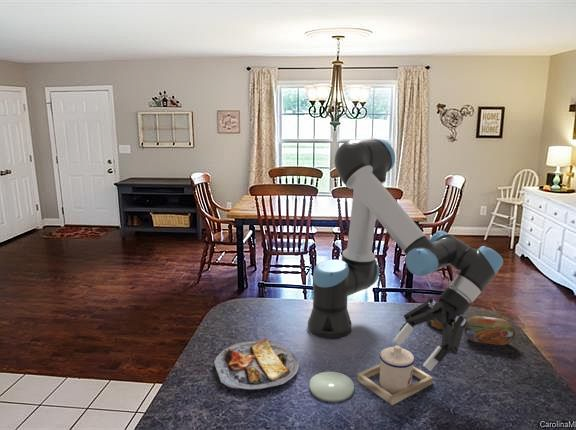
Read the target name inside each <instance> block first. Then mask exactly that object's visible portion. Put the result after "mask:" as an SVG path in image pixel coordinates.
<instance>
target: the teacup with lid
mask: <svg viewBox="0 0 576 430" xmlns="http://www.w3.org/2000/svg"><path fill="white" fill-rule="evenodd" d="M379 358H380V363H379V364H380V373H379V378H378V379H379V383H378V384H379V386H380V387H381V388H383V389H384V390H386V391H387V392H389V393H390V394H392V395H394V394H396V393H398V392H399V391H401V390H403V389H405V388H407V387H409V386H411V385H413V376H414V375H413V366H414V364H415V357H414V355H413V353H412V352H411V351H409V350H407V349H405V348H403V347H401V345H400V346H399V345H395V346H389V347H385V348H384V349H383V350H381V352H380V354H379Z"/></svg>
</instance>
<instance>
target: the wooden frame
mask: <svg viewBox="0 0 576 430" xmlns="http://www.w3.org/2000/svg"><path fill="white" fill-rule="evenodd" d="M379 374H380V363H378V364H376V365H375V366H372V367H370V368H368V369H365V370H363V371H361V372H359V373H357V374H356V381H357V382H359V383H360V384H362V385H363V386H364V387H366V388H367V389H368V390H370V391H372V393H374V394H376V395H377V396H378V397H380V398H381V399H382V400H384V401H385V402H387V403H388V404H389V405H391V406H394V405H396V404H397V403H400V402H401V401H403V400H406V399H407V398H409V397H411V396H413V395H414V394H416V393H418V392H420V391H421V390H423V389H425V388H427V387H429V386H432V385H433V381H434V376H431V375H430V374H428V373H427V372H424V371H423V370H421V369H420V368H418V367H415V366H414V365H413V375H412V376H414V377H416V378H418V379H419V381H416V382H415V383H412V385H411V386H409V387H407V388H405V389H403V390H401V391H399V392H398V393H396V394H392V393H389V392H387V391H386V390H384V389H383V388H382V387H381V386H380V384H378V383H376V382H374V381H373V380H372V379H370V378H371V377H374V376H376V375H379Z"/></svg>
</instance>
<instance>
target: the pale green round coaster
mask: <svg viewBox="0 0 576 430" xmlns="http://www.w3.org/2000/svg"><path fill="white" fill-rule="evenodd" d="M354 384H355V383H354V381H353V380H352V379H351V378H350V377H349V376H348V375H346V374H343V373H340V372H337V371H322V372H319V373H316V374H315V375H313V376H312V377H311V379H310V380H309V390H310V393H311V394H312V395H313V396H314V397H315V398H317V399H319V400H321V401H325V402H330V403H331V402H332V403H336V402H337V403H338V402H344V401H346V400H348V399H349V398H350V397H352V396H353V394H354V392H355V391H354V390H355V385H354Z"/></svg>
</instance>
